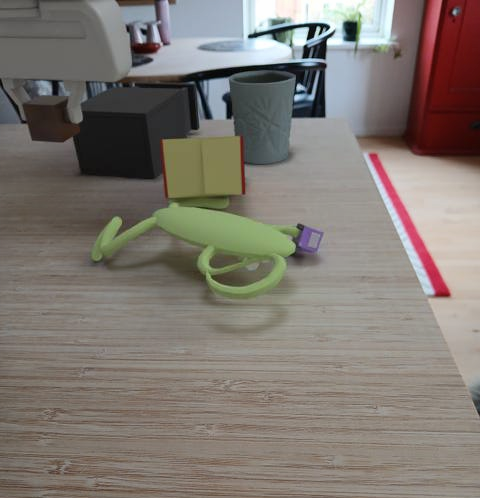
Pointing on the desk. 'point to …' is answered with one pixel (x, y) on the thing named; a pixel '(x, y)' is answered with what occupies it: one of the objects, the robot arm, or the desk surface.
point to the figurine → (219, 240)
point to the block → (48, 119)
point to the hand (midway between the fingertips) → (53, 121)
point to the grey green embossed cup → (263, 113)
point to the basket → (188, 100)
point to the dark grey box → (128, 131)
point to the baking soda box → (203, 166)
